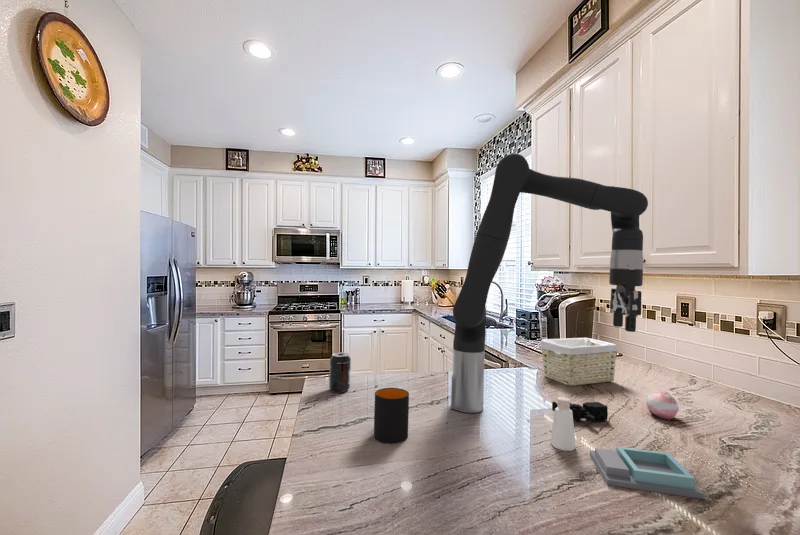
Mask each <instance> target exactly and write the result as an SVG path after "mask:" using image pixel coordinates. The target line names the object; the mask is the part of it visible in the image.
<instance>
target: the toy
mask: <svg viewBox="0 0 800 535" xmlns="http://www.w3.org/2000/svg"><path fill="white" fill-rule="evenodd" d="M557 407H558V402H556V401H552V402H551V410H552V411H553V412H555V408H557ZM608 407H609V406H607V405H605V404H603V403H601V402H599V401H590V402H589V401H588V402H583V403H582V405H580V404H577V403H572V402H570V410H571V411H572V413H573V420H574V421H575V422H576V423H580V422H581V419H585V421H587V422H590V423H593V424H594V423H604V422H606V420H607V421H608V416H609V412H608V411H609V410H608Z"/></svg>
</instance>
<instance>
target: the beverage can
mask: <svg viewBox="0 0 800 535" xmlns="http://www.w3.org/2000/svg"><path fill="white" fill-rule="evenodd" d="M351 361H352V359H351V356H350V353H349V352H344V351H342V352H341V351H338V352H333V353H332V354H331V357H330V358H329V378H328V380H329V381H328V382H329V383H328V384H329V385H328V387H329V390H330V391H332V392H333V393H336V394H337V393H339V394H340V393H346V392H347V391H348V390H349V389H350V388H351V368H352V366H351V365H352V364H351Z"/></svg>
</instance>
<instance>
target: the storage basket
mask: <svg viewBox="0 0 800 535" xmlns="http://www.w3.org/2000/svg"><path fill="white" fill-rule="evenodd" d="M540 349H541V355H542V356H541V357H542V358H541V359H542V366H543V375H544V376H545V377H546V378H548V379H550V380H553V381H556V382H558V383H560V384H563V385H565V386H580V385H591V384H600V383H601V384H602V383H609V382H614V381H615V372H616V360H617V356H618V355H617V354H618V353H617V352H618V346H617V344H616V343H611V342H608V341H604V340H599V339H597V338H596V339H595V338H589V337H571V338H569V337H567V338H542V339H541V340H540Z"/></svg>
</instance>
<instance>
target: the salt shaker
mask: <svg viewBox="0 0 800 535" xmlns="http://www.w3.org/2000/svg"><path fill="white" fill-rule="evenodd" d="M556 400H557V404H558V407H557V408H555V412H554V411H553V412H554V413H553V419H552V420H553V421H552V429H551V437H550V444H551V445H552V446H553V447H554V448H555V449H558V450H561V451H562V452H563V451H565V452H567V451H570V452H572V451H573V450H575V449H576V448H577V447H576V436H575V425H574V419H573V413H572V411H571V410H570V403H571V400H570V398H567V397H564V396H559V397H557V399H556Z"/></svg>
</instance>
